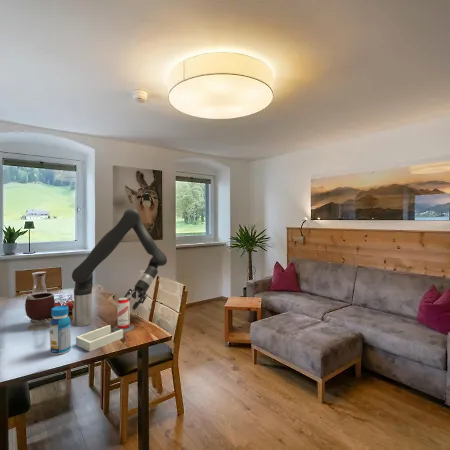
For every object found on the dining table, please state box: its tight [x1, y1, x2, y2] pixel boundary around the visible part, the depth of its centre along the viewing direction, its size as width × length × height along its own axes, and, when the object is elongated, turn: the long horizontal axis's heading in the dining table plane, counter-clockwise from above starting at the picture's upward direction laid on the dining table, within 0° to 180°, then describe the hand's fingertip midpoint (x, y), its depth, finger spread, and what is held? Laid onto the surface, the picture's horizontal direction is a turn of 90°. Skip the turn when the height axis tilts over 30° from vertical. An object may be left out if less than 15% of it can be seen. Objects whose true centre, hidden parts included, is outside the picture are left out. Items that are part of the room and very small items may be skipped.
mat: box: [112, 323, 135, 334], centre depth 159 cm, size 11×11×1 cm
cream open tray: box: [75, 324, 124, 352], centre depth 143 cm, size 18×11×4 cm, turn 146°
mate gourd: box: [22, 292, 56, 332], centre depth 162 cm, size 16×14×20 cm
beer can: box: [116, 296, 131, 329], centre depth 159 cm, size 6×6×16 cm
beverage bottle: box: [49, 305, 72, 356], centre depth 133 cm, size 8×8×20 cm
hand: (128, 307), depth 161 cm, fingers open, 8 cm apart
